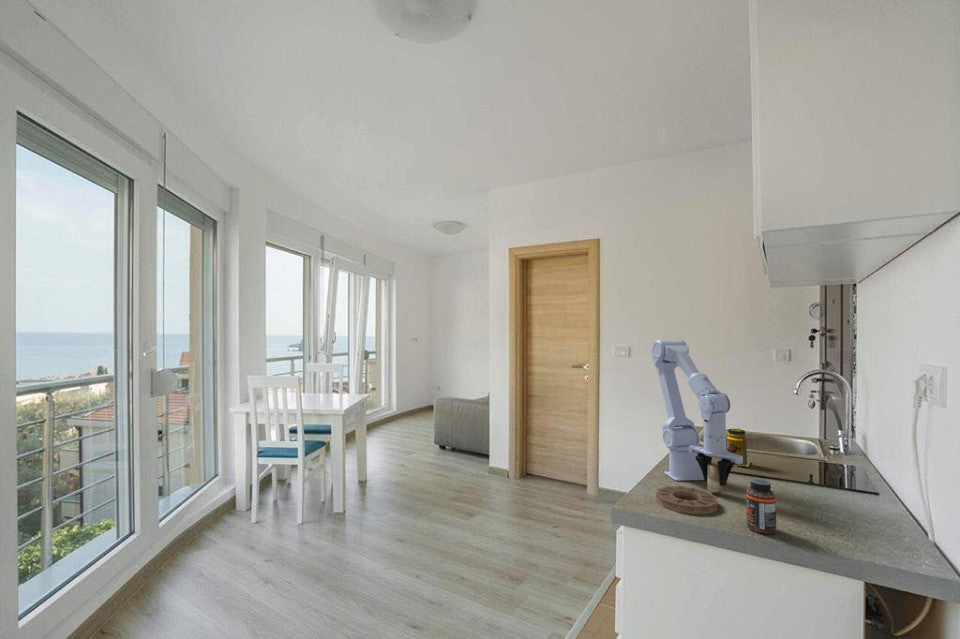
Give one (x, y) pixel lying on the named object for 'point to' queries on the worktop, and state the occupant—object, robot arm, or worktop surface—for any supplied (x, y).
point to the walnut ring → (700, 505)
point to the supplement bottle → (761, 507)
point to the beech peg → (713, 478)
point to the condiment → (737, 444)
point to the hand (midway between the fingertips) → (715, 482)
